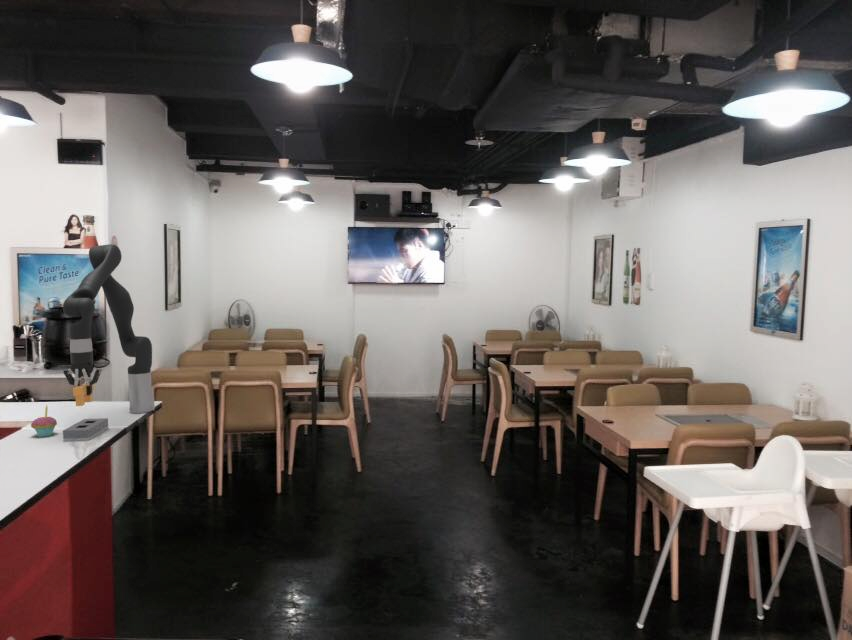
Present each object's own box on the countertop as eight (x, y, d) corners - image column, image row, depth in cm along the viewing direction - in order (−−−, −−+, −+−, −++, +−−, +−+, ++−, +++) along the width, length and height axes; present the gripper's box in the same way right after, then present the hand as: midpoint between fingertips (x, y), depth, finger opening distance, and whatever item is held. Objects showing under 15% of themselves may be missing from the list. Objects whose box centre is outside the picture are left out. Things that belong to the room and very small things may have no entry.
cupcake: (62, 433, 256) (60, 402, 255) (43, 439, 248) (41, 407, 247) (46, 431, 259) (44, 401, 258) (26, 437, 251) (24, 406, 250)
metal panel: (85, 428, 262) (84, 418, 262) (108, 428, 263) (107, 418, 263) (63, 441, 244) (62, 430, 244) (88, 440, 245) (87, 429, 245)
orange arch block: (86, 400, 258) (85, 382, 257) (94, 400, 258) (93, 382, 257) (73, 406, 247) (72, 387, 246) (82, 406, 247) (81, 387, 247)
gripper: (104, 348, 255) (107, 393, 256) (67, 349, 254) (69, 393, 256) (96, 351, 247) (98, 396, 249) (57, 352, 247) (60, 397, 248)
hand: (84, 395), depth 252 cm, fingers closed on orange arch block, 3 cm apart
